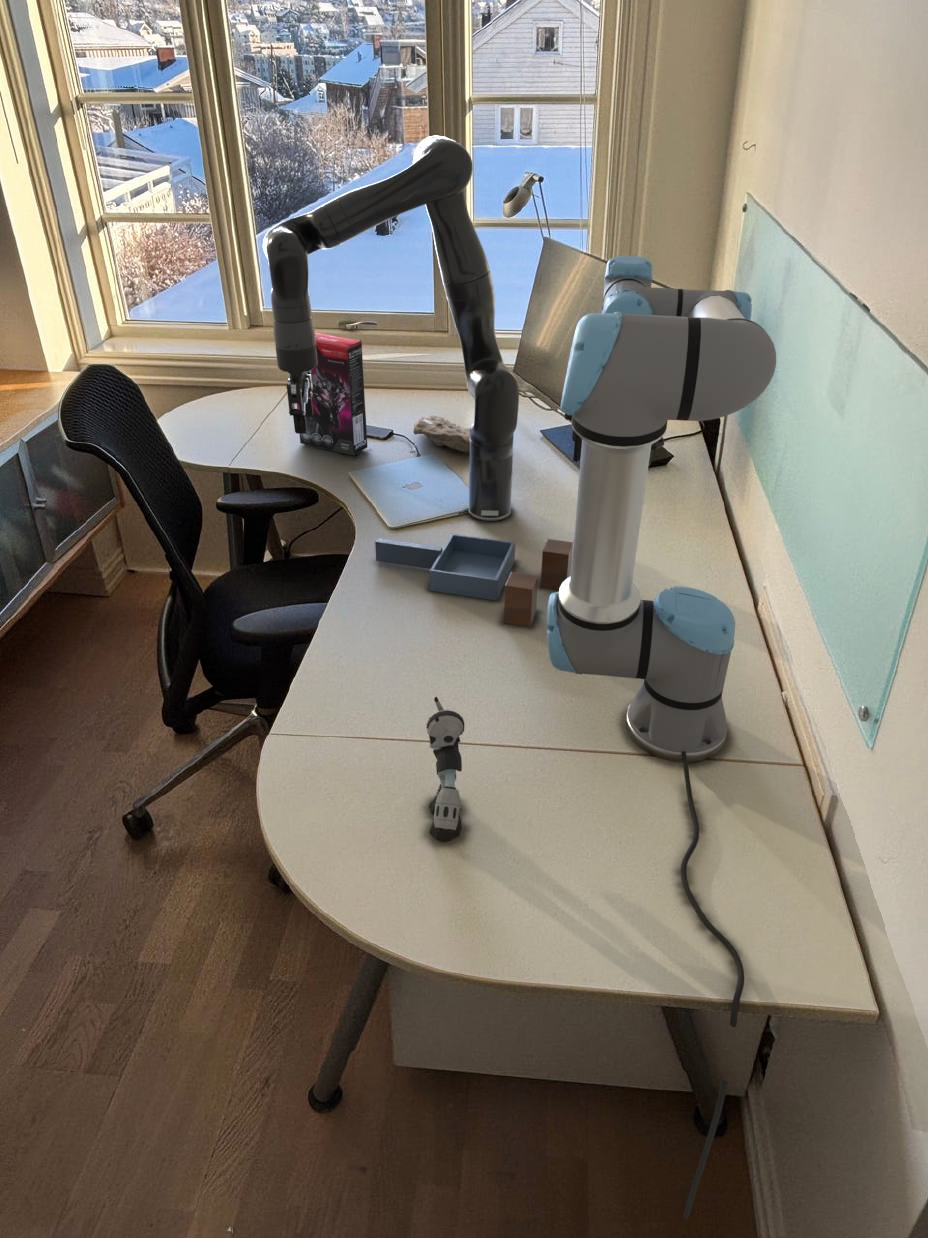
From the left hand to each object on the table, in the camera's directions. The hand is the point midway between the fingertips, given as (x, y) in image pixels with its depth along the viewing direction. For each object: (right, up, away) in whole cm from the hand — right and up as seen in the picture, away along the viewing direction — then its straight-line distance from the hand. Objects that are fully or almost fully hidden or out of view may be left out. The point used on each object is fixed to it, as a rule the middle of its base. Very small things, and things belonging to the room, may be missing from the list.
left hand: (304, 424), depth 181 cm
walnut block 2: (+49, -31, -2) cm, 58 cm away
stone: (+28, +6, +53) cm, 60 cm away
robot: (+29, -66, -54) cm, 90 cm away
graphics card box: (-2, +5, +52) cm, 52 cm away
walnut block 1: (+42, -38, -12) cm, 58 cm away
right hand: (+58, -11, -13) cm, 60 cm away
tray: (+27, -29, +2) cm, 39 cm away
